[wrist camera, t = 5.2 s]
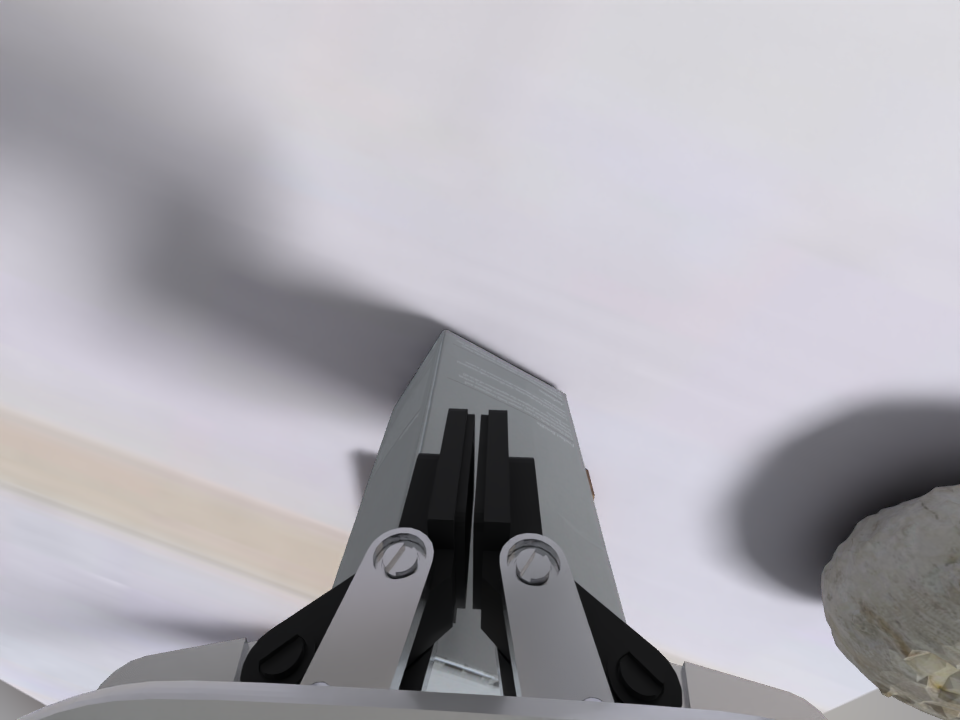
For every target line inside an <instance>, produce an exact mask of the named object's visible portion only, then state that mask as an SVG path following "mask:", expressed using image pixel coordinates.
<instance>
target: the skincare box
mask: <svg viewBox="0 0 960 720" xmlns="http://www.w3.org/2000/svg"><path fill="white" fill-rule="evenodd" d="M449 408H458V409H468V414H475V473H474V502H473V515H472V529H471V542H470V556H469V569H468V582H467V596H466V608H465V609H459V608H457V614H456V623H453V627H452V628H451V629H450V630H449V631H448V632H446V633H445V634H444V635H443V636H442V637H441V638H440V639H439V640H438V648H437V653H436V656H435V660H434V664H433V668H432V671H431V675H430V679H429V683H428V686H427V690H426V691H427V692H445V693H462V694H479V695H496V696H500V688H499V680H498V672H497V665H496V657H495V644H494V643H493V642H492V641H491V640H490V639H489V637H488V636H487V635H486V634H485V633H484V632H483V631H482V630H481V610H479V609H473V523H474V505H475V491H476V477H477V463H478V449H479V435H480V421H481V414H484V415H488V412H489V410H507V412H508V447H509V457H532V458H534V461H535V469H536V479H537V488H538V497H539V506H540V515H541V524H542V533H543V536H546V537H548V538H549V539H551V540H553V541H554V542H556V544H557V545H558V546H559V547H560V548H561V549H562V550H563V552H564V554H565V556H566V558H567V561H568V564H569V567H570V570H571V573H572V576H573V579H574V581H576V582H577V583H578V584H579V585H580V586H582V587H583V588H584V589H585V590H586V591H588V592H589V593H590V594H591V595H592V596H594V597H595V598H596V599H597V600H598V601H600V602H601V603H602V604H603V605H604V606H606V607H607V608H608V609H609V610H610V611H612V612H613V613H614V614H615V615H616V616H617V617H619V618H620V619H621V620H622V621H623V622H625V623H626V620H625V617H624V613H623V609H622V606H621V602H620V598H619V594H618V591H617V587H616V583H615V580H614V576H613V572H612V569H611V565H610V562H609V558H608V554H607V551H606V547H605V543H604V539H603V535H602V531H601V527H600V523H599V519H598V516H597V512H596V508H595V504H594V500H593V497H592V493H591V489H590V485H589V482H588V478H587V474H586V470H585V467H584V463H583V459H582V455H581V451H580V447H579V443H578V440H577V436H576V432H575V429H574V425H573V421H572V417H571V414H570V410H569V406H568V402H567V398H566V394H565V393H563V392H561V391H559V390H558V389H556V388H554V387H552V386H550V385H548V384H546V383H544V382H543V381H541V380H539V379H537V378H535V377H533V376H531V375H530V374H528V373H526V372H524V371H522V370H520V369H518V368H517V367H515V366H513V365H511V364H509V363H507V362H506V361H504V360H502V359H500V358H498V357H497V356H495V355H493V354H491V353H489V352H487V351H486V350H484V349H482V348H480V347H478V346H476V345H474V344H473V343H471V342H469V341H467V340H465V339H463V338H461V337H460V336H458V335H456V334H454V333H452V332H450V331H448V330H444V331H443V332H442V333H441V334H440V336H439V338H438V339H437V341H436V342H435V344H434V346H433V347H432V349H431V350H430V352H429V353H428V355H427V357H426V358H425V360H424V361H423V363H422V365H421V366H420V368H419V369H418V371H417V372H416V374H415V376H414V377H413V379H412V380H411V382H410V383H409V385H408V387H407V388H406V390H405V391H404V393H403V394H402V396H401V398H400V399H399V401H398V402H397V404H396V406H395V407H394V409H393V412H392V415H391V417H390V420H389V423H388V426H387V428H386V431H385V434H384V437H383V440H382V443H381V446H380V449H379V452H378V455H377V458H376V461H375V464H374V467H373V470H372V473H371V475H370V478H369V481H368V484H367V487H366V490H365V493H364V496H363V499H362V502H361V505H360V508H359V511H358V514H357V517H356V520H355V523H354V526H353V529H352V532H351V534H350V537H349V540H348V543H347V546H346V549H345V552H344V555H343V558H342V561H341V564H340V566H339V569H338V572H337V575H336V578H335V581H334V585H333V588H334V587H336V586H337V585H339V584H340V583H342V582H343V581H345V580H346V579H348V578H349V577H351V576H352V575H354V574H355V573H356V572H357V570H358V568H359V566H360V564H361V562H362V560H363V558H364V556H365V554H366V552H367V550H368V549H369V547H370V546H371V544H372V543H373V541H374V540H376V539H377V538H378V537H379V536H380V535H382V534H383V533H385V532H388V531H390V530H392V529H397V528H398V527H399V523H400V520H401V516H402V512H403V508H404V505H405V501H406V497H407V493H408V490H409V486H410V482H411V478H412V475H413V471H414V467H415V463H416V460H417V456H418V454H419V453H431V454H440V450H441V445H442V440H443V435H444V430H445V424H446V419H447V414H448V410H449ZM333 588H332V589H333Z"/></svg>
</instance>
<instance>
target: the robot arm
mask: <svg viewBox="0 0 960 720" xmlns="http://www.w3.org/2000/svg"><path fill="white" fill-rule="evenodd" d="M474 473H475V414H468V409H458V408H449V410H448V414H447V419H446V424H445V430H444V435H443V440H442V445H441V450H440V454H431V453H419V454H418V456H417V460H416V463H415V467H414V471H413V475H412V478H411V482H410V486H409V490H408V493H407V497H406V501H405V505H404V508H403V512H402V516H401V520H400V523H399V527H398V528H397V529H392V530H390V531H388V532H385V533H383V534H382V535H380V536H379V537H378V538H377V539H376V540H374V541H373V543H372V544H371V546H370V547H369V549H368V550H367V552H366V554H365V556H364V558H363V560H362V562H361V564H360V566H359V568H358V570H357V572H356V573H355V574H354V575H352V576H351V577H349V578H348V579H346V580H345V581H343V582H342V583H340V584H339V585H337V586H336V587H334V588H333V589H331V590H330V591H328V592H327V593H325V594H324V595H322V596H321V597H319V598H318V599H316V600H315V601H313V602H312V603H310V604H309V605H307V606H306V607H304V608H303V609H301V610H300V611H298V612H297V613H295V614H294V615H292V616H291V617H289V618H288V619H286V620H285V621H283V622H282V623H280V624H279V625H277V626H276V627H274V628H273V629H271V630H270V631H268V632H267V633H266V634H265V635H264V636H262V637H261V638H260V639H259V640H258V641H253V642H247V640H246V638H240V639H235V640H229V641H224V642H219V643H213V644H208V645H202V646H197V647H192V648H186V649H181V650H175V651H170V652H165V653H159V654H154V655H148V656H144V657H141V658H138V659H136V660H133V661H130V662H129V663H127V664H125V665H124V666H122V667H121V668H119V669H117V670H116V671H115V672H114V673H112V674H111V675H110V676H109V677H108V678H107V679H106V680H105V681H104V682H103V683H102V684H101V685H100V686H99V688H98V689H97V690H95V691H91V692H88V693H84V694H81V695H77V696H74V697H70V698H68V699H65V700H62V701H59V702H57V703H54V704H51V705H48V706H45V707H44V708H41V709H38V710H36V711H34V712H31V713H29V714H27V715H25V716H22V717H20V718H18V719H17V720H827V719H826V718H825V716H824V715H823V714H822V713H821V712H820V711H819V710H818V709H817V708H815V707H814V706H813V705H811V704H810V703H809V702H808V701H806V700H805V699H803V698H801V697H799V696H797V695H795V694H792V693H790V692H787V691H784V690H781V689H777V688H774V687H770V686H767V685H764V684H760V683H757V682H753V681H750V680H747V679H743V678H740V677H736V676H733V675H730V674H726V673H723V672H719V671H716V670H713V669H709V668H706V667H702V666H699V665H696V664H692V663H689V662H684V664H683V666H680V665H677V664H674V663H670V662H669V661H668V660H667V659H666V658H665V657H664V656H663V655H662V654H661V653H660V652H659V651H658V650H657V649H656V648H655V647H653V646H652V645H651V644H650V643H649V642H647V641H646V640H645V639H644V638H643V637H641V636H640V635H639V634H638V633H637V632H635V631H634V630H633V629H632V628H631V627H629V626H628V625H627V624H626V623H625V622H623V621H622V620H621V619H620V618H619V617H617V616H616V615H615V614H614V613H613V612H612V611H610V610H609V609H608V608H607V607H606V606H604V605H603V604H602V603H601V602H600V601H598V600H597V599H596V598H595V597H594V596H592V595H591V594H590V593H589V592H588V591H586V590H585V589H584V588H583V587H582V586H580V585H579V584H578V583H577V582H576V581H574V579H573V576H572V573H571V570H570V567H569V564H568V561H567V558H566V556H565V554H564V552H563V550H562V549H561V548H560V547H559V546H558V545H557V544H556V542H554V541H553V540H551V539H549V538H548V537H546V536H543V533H542V524H541V515H540V506H539V497H538V488H537V479H536V469H535V461H534V458H532V457H509V447H508V412H507V410H489V412H488V415H484V414H481V421H480V435H479V449H478V463H477V477H476V491H475V505H474V523H473V609H479V610H481V630H482V631H483V632H484V633H485V634H486V635H487V636H488V637H489V639H490V640H491V641H492V642H493V643H494V644H495V657H496V665H497V672H498V680H499V688H500V696H496V695H479V694H462V693H445V692H427V691H426V690H427V686H428V683H429V679H430V675H431V671H432V668H433V664H434V660H435V656H436V653H437V648H438V640H439V639H440V638H441V637H442V636H443V635H444V634H445V633H446V632H448V631H449V630H450V629H451V628H452V627H453V623H456V614H457V608H459V609H465V608H466V596H467V582H468V569H469V556H470V542H471V529H472V515H473V502H474Z"/></svg>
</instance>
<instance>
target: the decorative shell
mask: <svg viewBox="0 0 960 720" xmlns="http://www.w3.org/2000/svg"><path fill="white" fill-rule="evenodd" d="M820 588H821V590H822V596H821V597H822V601H823V606H824V612H825V617H826V621H827V622H828V624H829V626H830V628H831V631H832V636H833V638H834V641H835V644H836V646H837V647H838V648H839V650H840V651H841V652H842V653H843V654H844V655H845V656H846V658H847V659H848V660H849V661H850V662H851V663H853V664H854V665H855V666H856V667H857V668H858V669H859V670H860V672H861V673H862V674H863V675H865V676H866V677H867V678H868V679H869V680H870V681H871V682H872V683H873V684H875V685H876V686H877V687H878V688H879V689H880V691H881V693H882V694H883V695H885V696H886V697H890V696H893V697H895V698H896V699H898V700H900V701H902V702H904V703H906V704H908V705H910V706H912V707H914V708H916V709H918V710H920V711H923V712H925V713H927V714H930V715H933V716H935V717H938V718H940V719H943V720H960V484H959V485H955V486H944V487H935V488H934V489H932V490H931V491H930V492H929V493H927V494H925V495H923V496H921V497H918V498H915V499H912V500H909V501H905V502H901V503H900V504H898V505H896V506H892V507H888V508H883V509H881V510H880V511H879V512H878V513H876V514H874V515H869V516H867V517H865V518H864V519H862V520H861V521H859V522H858V523H857V525H856V526H855V528H854V530H853V531H852V533H851V534H850V536H849V537H848V538H847V539H846V540H845V541H844V542H843V543H841V544H840V545H838V547H837V549H836V551H835V553H834V555H833V557H832V559H831V560H830V562H828V563H827V564H826V565H825V567H824V569H823V572H822V574H821V586H820Z"/></svg>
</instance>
